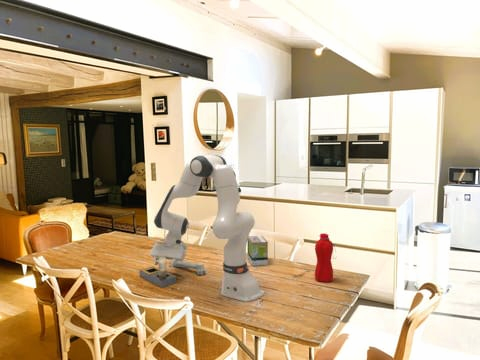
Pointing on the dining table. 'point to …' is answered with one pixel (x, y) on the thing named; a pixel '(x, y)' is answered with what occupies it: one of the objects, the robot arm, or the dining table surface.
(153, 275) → the grey peg hole block
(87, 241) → the dining table surface
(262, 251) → the tea box
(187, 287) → the dining table surface
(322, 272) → the water bottle
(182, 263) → the grey long bar
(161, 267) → the peg
